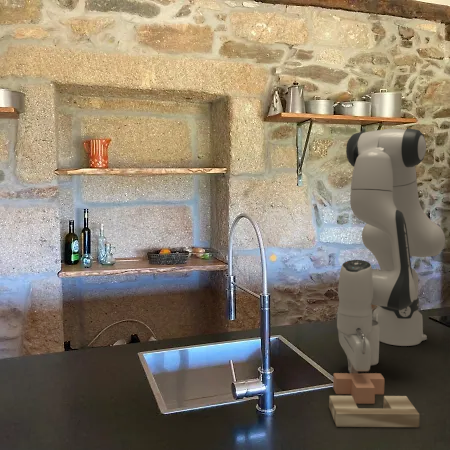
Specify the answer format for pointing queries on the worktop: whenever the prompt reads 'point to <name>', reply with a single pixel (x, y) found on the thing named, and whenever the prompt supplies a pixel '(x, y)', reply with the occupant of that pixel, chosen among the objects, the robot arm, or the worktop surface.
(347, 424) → the dock
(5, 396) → the worktop surface
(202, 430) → the worktop surface
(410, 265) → the robot arm
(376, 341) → the can
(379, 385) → the t block
